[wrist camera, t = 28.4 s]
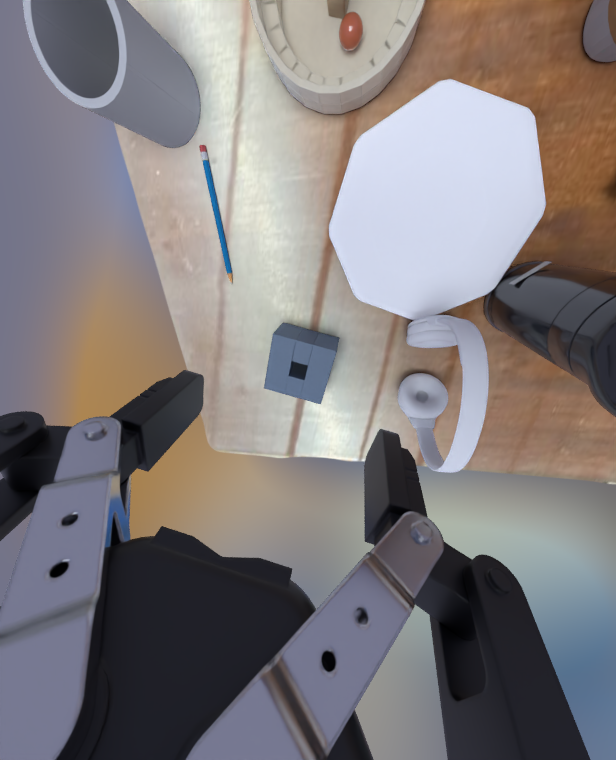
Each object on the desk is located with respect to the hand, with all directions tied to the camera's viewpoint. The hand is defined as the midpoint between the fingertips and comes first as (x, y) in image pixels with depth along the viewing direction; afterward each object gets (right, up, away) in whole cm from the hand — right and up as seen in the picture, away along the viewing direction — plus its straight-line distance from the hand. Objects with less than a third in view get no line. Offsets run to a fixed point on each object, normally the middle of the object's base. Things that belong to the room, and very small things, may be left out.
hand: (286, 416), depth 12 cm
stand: (0, +6, +34) cm, 35 cm away
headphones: (+19, +5, +31) cm, 37 cm away
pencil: (-12, +25, +27) cm, 38 cm away
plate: (+16, +22, +23) cm, 36 cm away
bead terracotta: (+5, +37, +15) cm, 40 cm away
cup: (-17, +36, +21) cm, 45 cm away
